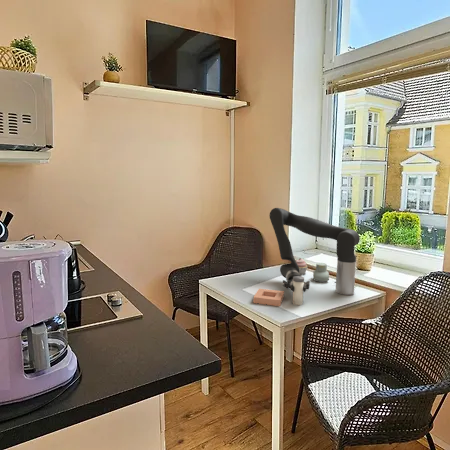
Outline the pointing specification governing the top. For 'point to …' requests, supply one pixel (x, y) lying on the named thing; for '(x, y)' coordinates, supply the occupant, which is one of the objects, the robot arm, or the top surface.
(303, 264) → the cupcake
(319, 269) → the air freshener
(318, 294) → the top surface
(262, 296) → the socket block
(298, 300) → the canister
